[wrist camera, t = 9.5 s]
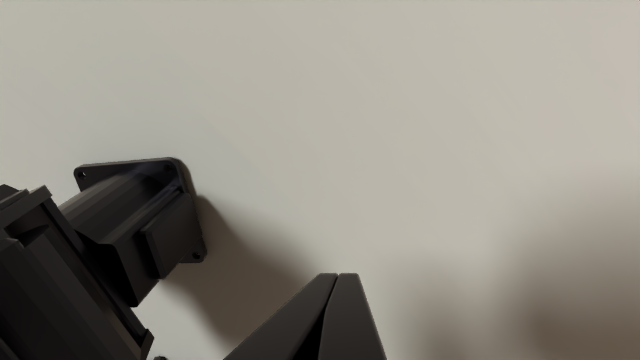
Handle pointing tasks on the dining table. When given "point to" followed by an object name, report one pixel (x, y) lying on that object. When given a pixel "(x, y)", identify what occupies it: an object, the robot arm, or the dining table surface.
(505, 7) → the dining table surface
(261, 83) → the dining table surface
